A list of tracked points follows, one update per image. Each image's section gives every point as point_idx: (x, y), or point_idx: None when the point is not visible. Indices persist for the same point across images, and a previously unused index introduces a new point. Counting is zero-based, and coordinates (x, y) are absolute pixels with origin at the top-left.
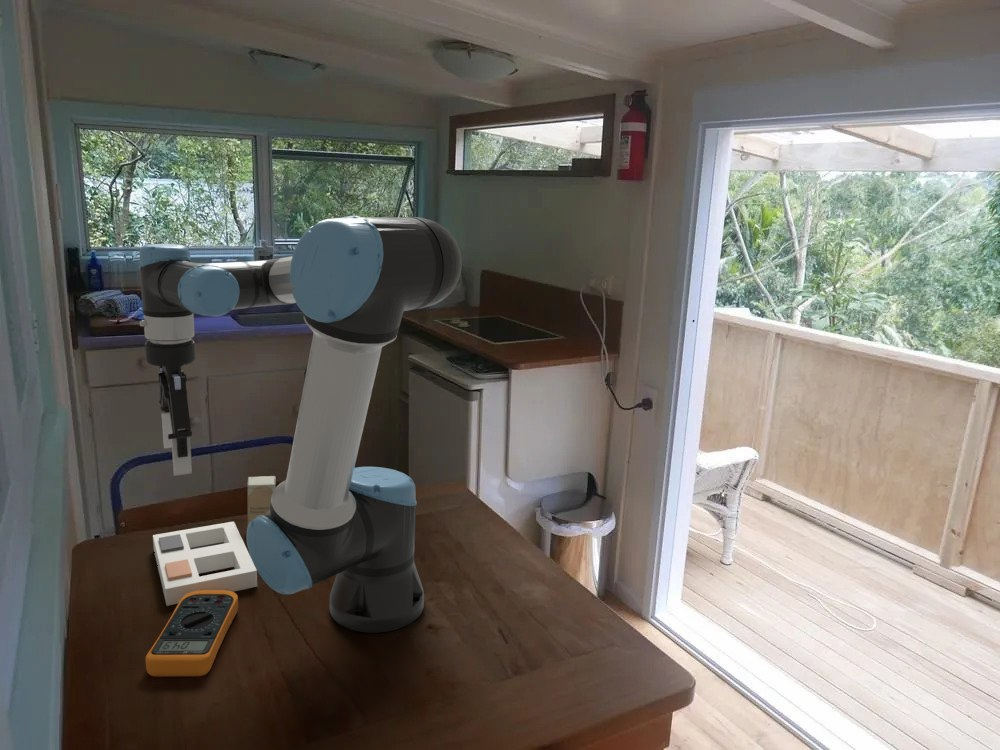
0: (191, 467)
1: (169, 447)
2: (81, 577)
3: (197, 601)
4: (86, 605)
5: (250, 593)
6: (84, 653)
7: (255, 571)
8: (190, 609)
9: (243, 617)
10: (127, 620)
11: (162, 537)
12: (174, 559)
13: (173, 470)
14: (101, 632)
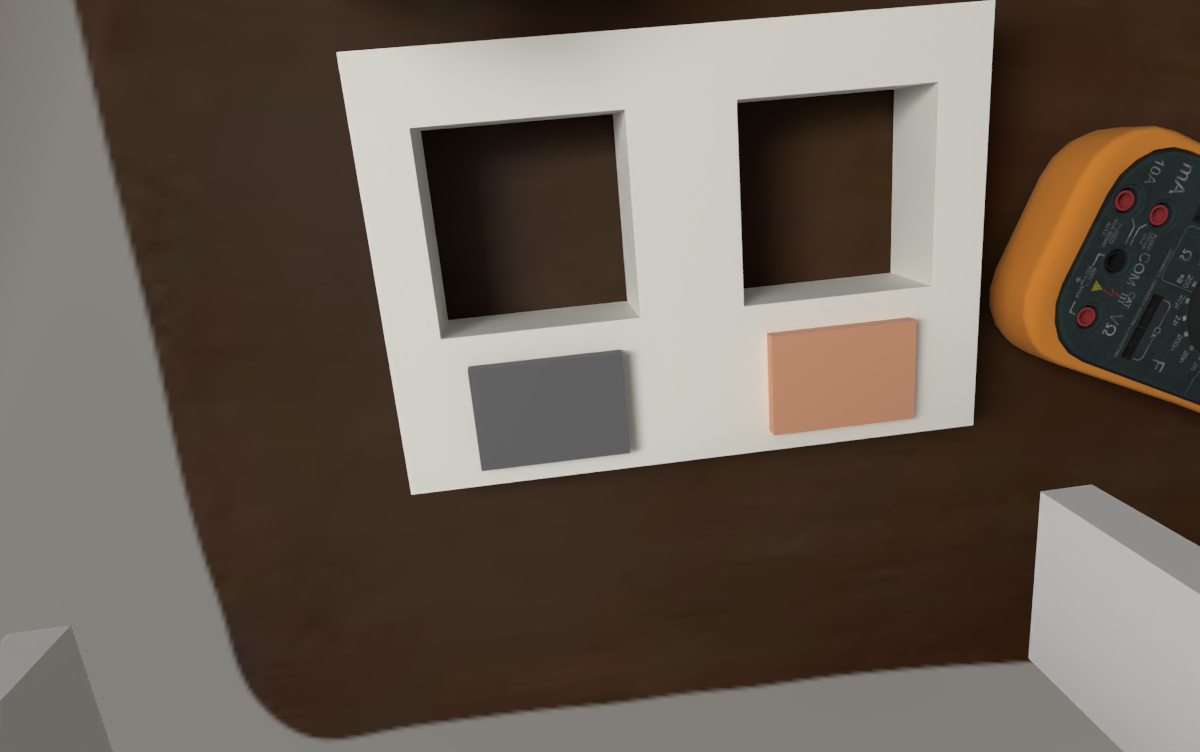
0: (1147, 519)
1: (109, 750)
2: (584, 698)
3: (1115, 299)
4: (803, 656)
5: None
6: None
7: (993, 8)
8: (1157, 328)
9: (1151, 112)
10: (964, 523)
11: (483, 453)
12: (719, 392)
13: (1064, 686)
14: (999, 592)
